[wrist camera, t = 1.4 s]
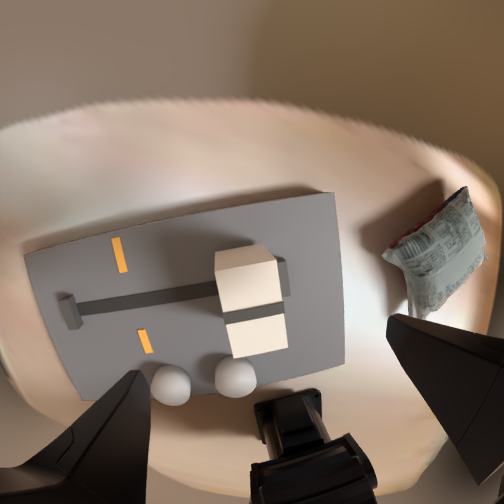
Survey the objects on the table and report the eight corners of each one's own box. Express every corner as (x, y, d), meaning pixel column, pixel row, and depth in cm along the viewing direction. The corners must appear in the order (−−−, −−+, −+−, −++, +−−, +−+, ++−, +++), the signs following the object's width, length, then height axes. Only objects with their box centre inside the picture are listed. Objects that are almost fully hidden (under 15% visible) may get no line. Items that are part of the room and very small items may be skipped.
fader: (262, 243, 18) (278, 260, 13) (273, 314, 19) (289, 348, 14) (214, 252, 17) (213, 272, 13) (229, 322, 19) (233, 360, 14)
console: (323, 192, 20) (343, 192, 17) (335, 352, 23) (351, 374, 20) (36, 250, 18) (12, 260, 15) (88, 388, 21) (76, 410, 18)
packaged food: (470, 255, 24) (501, 265, 19) (397, 320, 24) (426, 342, 19) (450, 182, 22) (485, 183, 17) (367, 244, 22) (401, 256, 17)
